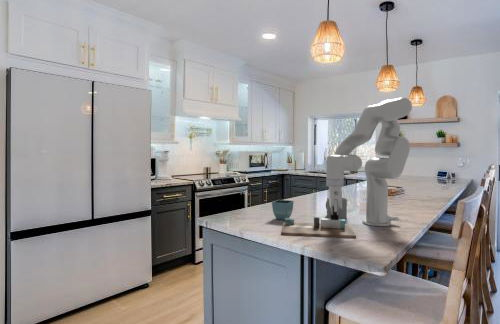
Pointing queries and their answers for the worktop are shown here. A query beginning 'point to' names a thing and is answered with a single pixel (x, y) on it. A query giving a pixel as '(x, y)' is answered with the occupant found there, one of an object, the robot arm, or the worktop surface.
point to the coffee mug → (341, 212)
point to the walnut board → (314, 229)
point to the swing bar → (333, 223)
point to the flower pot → (282, 209)
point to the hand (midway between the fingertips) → (334, 223)
